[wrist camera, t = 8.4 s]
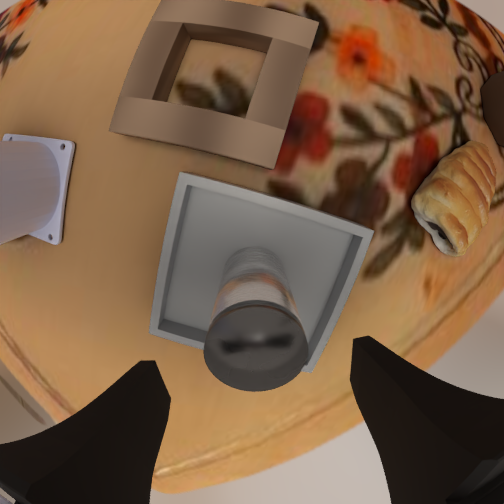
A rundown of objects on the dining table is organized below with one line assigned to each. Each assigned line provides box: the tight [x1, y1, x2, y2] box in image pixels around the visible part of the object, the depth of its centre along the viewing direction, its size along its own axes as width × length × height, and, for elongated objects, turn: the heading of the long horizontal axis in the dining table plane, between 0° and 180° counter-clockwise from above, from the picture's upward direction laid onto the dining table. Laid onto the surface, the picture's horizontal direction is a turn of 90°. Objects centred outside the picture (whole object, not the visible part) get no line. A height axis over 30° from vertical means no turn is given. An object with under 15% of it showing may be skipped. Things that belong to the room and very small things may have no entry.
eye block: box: [109, 0, 319, 170], centre depth 14 cm, size 10×10×2 cm
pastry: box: [411, 141, 496, 257], centre depth 15 cm, size 9×7×4 cm
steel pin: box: [204, 246, 308, 392], centre depth 14 cm, size 4×4×8 cm
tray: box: [149, 172, 374, 373], centre depth 18 cm, size 12×11×2 cm
